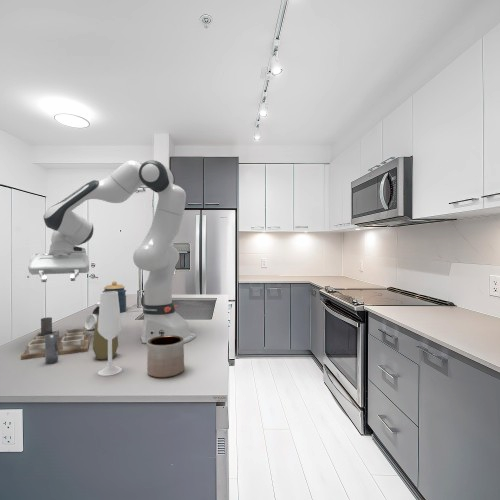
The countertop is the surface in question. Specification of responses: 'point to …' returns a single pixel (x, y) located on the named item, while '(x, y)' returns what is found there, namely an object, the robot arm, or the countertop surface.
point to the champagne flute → (109, 326)
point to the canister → (121, 294)
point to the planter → (165, 356)
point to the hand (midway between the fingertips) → (58, 280)
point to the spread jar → (92, 318)
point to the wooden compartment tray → (66, 345)
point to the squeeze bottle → (103, 345)
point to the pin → (51, 348)
